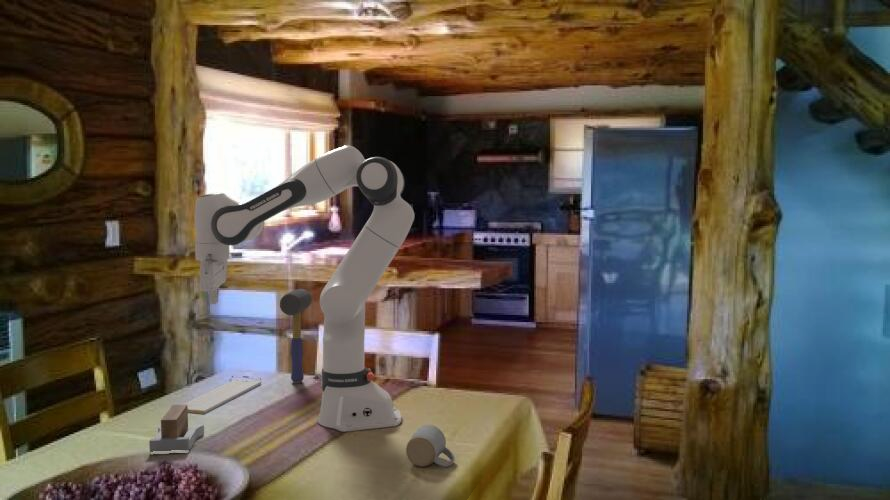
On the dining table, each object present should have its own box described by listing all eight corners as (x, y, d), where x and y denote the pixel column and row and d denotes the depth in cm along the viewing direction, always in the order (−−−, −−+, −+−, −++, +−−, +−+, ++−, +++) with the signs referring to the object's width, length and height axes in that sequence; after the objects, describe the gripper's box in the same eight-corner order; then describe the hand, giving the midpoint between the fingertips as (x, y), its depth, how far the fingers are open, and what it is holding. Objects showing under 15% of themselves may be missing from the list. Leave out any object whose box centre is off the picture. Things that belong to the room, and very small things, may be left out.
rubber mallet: (302, 388, 227) (300, 293, 224) (279, 387, 228) (277, 292, 225) (314, 377, 239) (313, 287, 236) (292, 377, 240) (291, 287, 237)
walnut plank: (188, 435, 185) (187, 404, 184) (177, 452, 173) (176, 419, 172) (173, 435, 184) (172, 404, 183) (161, 452, 172) (160, 420, 172)
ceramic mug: (403, 466, 164) (404, 433, 163) (414, 453, 172) (415, 422, 171) (449, 472, 161) (449, 439, 160) (458, 459, 169) (459, 427, 168)
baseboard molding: (167, 412, 205) (204, 416, 202) (167, 402, 204) (204, 406, 201) (228, 383, 234) (261, 386, 231) (227, 374, 234) (261, 377, 231)
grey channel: (204, 433, 185) (204, 420, 185) (193, 453, 172) (193, 438, 172) (158, 435, 184) (158, 422, 184) (144, 455, 170) (143, 441, 170)
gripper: (217, 256, 187) (219, 309, 188) (230, 249, 207) (231, 297, 209) (192, 256, 186) (194, 310, 188) (207, 249, 207) (208, 297, 208)
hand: (214, 303), depth 198 cm, fingers closed
